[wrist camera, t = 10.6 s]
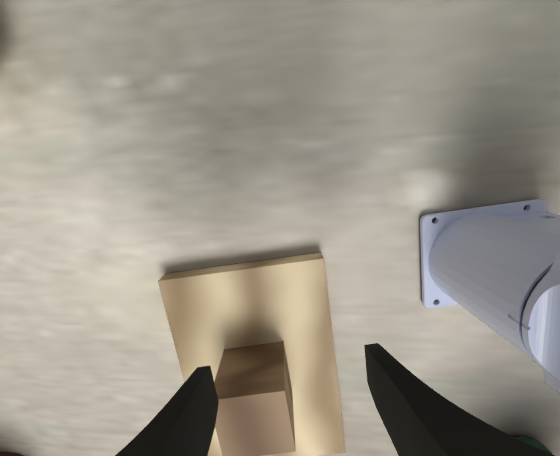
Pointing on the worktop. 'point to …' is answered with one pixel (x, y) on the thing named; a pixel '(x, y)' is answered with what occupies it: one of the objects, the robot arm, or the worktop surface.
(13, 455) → the food container
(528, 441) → the coffee jar
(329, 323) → the oak board
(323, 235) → the worktop surface
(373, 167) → the worktop surface
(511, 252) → the robot arm
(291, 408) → the walnut cube
